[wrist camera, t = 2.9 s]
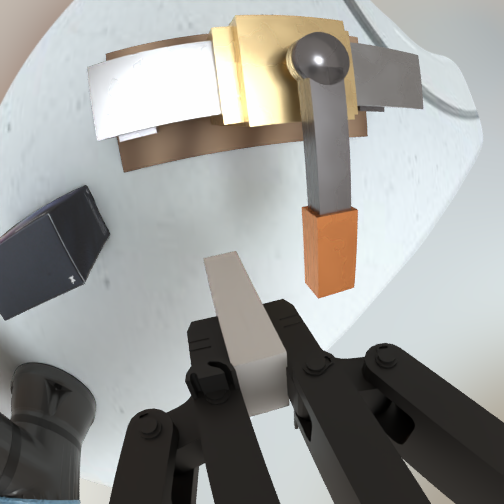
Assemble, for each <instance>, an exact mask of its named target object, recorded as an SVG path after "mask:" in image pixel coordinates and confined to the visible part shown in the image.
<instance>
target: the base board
mask: <svg viewBox="0 0 504 504" xmlns="http://www.w3.org/2000/svg"><path fill="white" fill-rule="evenodd" d="M207 37H208V34H202V35H194V36H187V37H180V38H174V39H168V40H162V41H157V42H152V43H147V44H143V45H138V46H134V47H130V48H126V49H122V50H118V51H114V52H111V53H107V54H106V61H108V60H112V59H116V58H119V57H123V56H127V55H131V54H135V53H139V52H144V51H148V50H153V49H158V48H163V47H169V46H175V45H181V44H187V43H195V42H203V41H206V39H207ZM349 40H350V42H352V43H358V38H357V37H352V36H349ZM158 127H159V132H158V133H154V134H150V135H145V136H141V137H137V138H133V139H129V140H125V141H122V142H120V140H119V136H117V140H118V145H119V151H120V156H121V161H122V165H123V170H124V172H128V171H132V170H136V169H140V168H144V167H148V166H153V165H157V164H161V163H166V162H170V161H175V160H180V159H185V158H190V157H195V156H200V155H205V154H211V153H216V152H222V151H228V150H235V149H241V148H248V147H255V146H262V145H270V144H278V143H286V142H296V141H303V130H302V122H292V123H280V124H270V125H261V126H253V127H241V126H219V125H211V123H210V117H203V118H197V119H192V120H186V121H181V122H176V123H171V124H166V125H161V126H158ZM348 129H349V137H365V136H368V135H367V118H366V111H358V115H355V119H352V120H348Z"/></svg>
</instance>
